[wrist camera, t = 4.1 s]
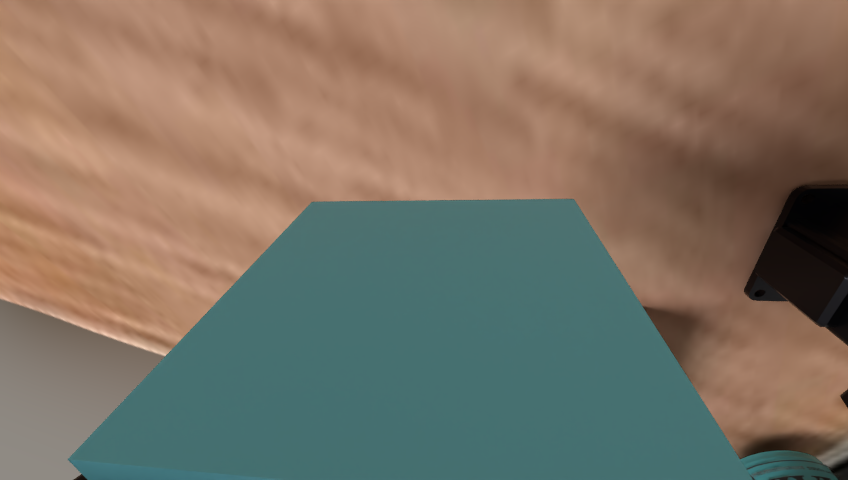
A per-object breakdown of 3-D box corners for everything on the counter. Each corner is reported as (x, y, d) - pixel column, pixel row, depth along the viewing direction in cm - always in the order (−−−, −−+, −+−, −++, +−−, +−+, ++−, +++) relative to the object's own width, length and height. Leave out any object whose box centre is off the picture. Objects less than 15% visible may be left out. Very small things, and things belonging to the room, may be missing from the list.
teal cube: (573, 199, 8) (781, 527, 3) (544, 383, 11) (613, 708, 6) (312, 202, 8) (68, 458, 3) (352, 372, 11) (255, 649, 6)
